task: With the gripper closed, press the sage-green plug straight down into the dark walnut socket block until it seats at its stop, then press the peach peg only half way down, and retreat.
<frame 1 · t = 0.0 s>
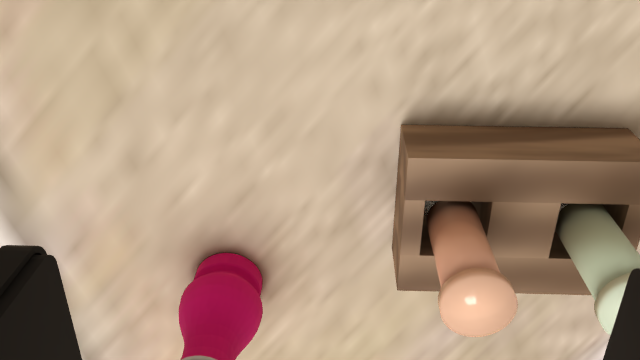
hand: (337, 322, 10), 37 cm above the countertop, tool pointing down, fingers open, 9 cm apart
green plug: (607, 261, 42), point 10 cm above the countertop, slide at 0.0 cm
pepper mill: (229, 277, 56), on the countertop
socket block: (502, 191, 50), on the countertop
peach peg: (463, 258, 42), point 10 cm above the countertop, slide at 0.0 cm
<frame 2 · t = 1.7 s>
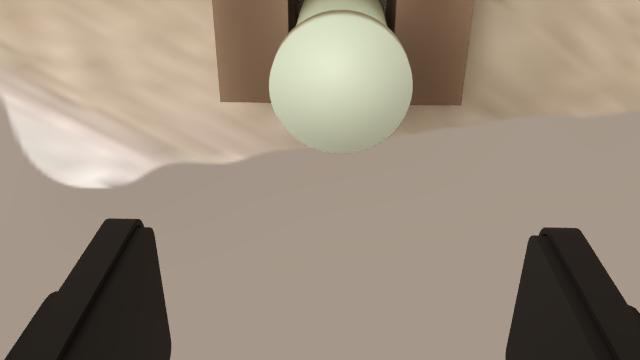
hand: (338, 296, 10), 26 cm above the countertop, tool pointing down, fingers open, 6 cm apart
green plug: (341, 45, 24), point 10 cm above the countertop, slide at 0.0 cm
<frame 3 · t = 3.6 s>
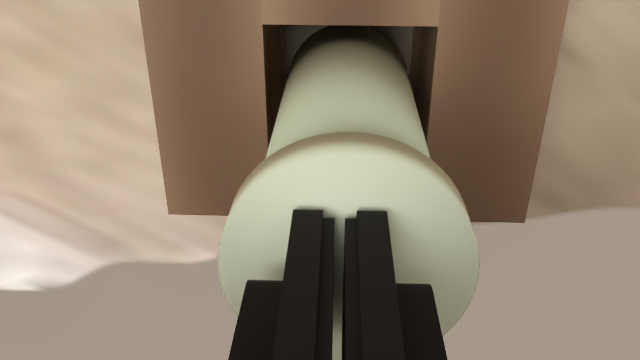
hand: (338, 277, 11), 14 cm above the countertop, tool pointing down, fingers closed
green plug: (347, 149, 16), point 9 cm above the countertop, slide at 0.8 cm, touching gripper
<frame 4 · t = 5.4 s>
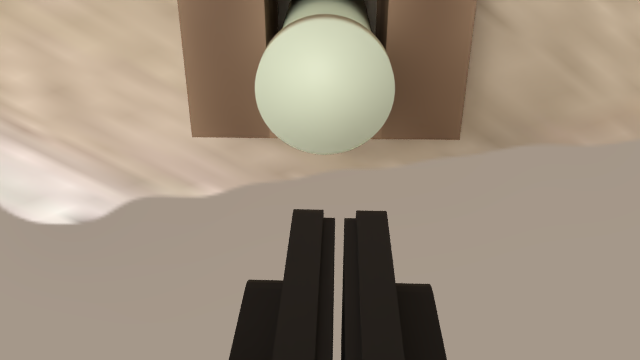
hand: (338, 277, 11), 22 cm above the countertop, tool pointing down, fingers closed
green plug: (326, 49, 25), point 6 cm above the countertop, slide at 4.0 cm
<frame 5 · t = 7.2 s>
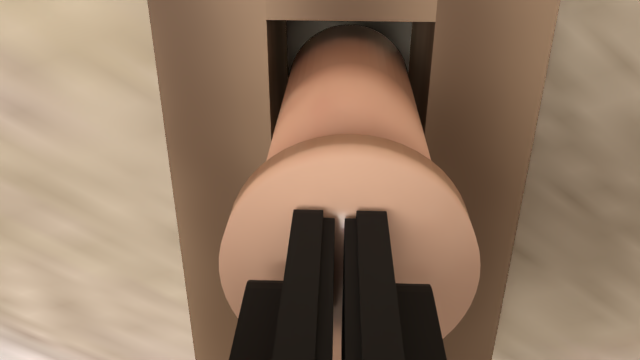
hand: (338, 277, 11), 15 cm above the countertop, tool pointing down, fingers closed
socket block: (345, 157, 26), on the countertop
peach peg: (348, 151, 16), point 10 cm above the countertop, slide at 0.1 cm, touching gripper
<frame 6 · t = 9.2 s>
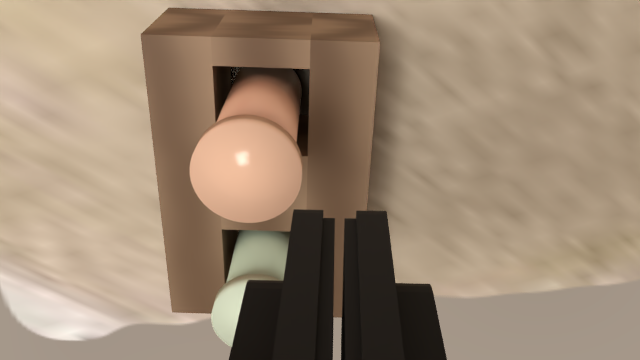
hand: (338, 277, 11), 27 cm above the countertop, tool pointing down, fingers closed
green plug: (264, 262, 37), point 6 cm above the countertop, slide at 4.0 cm
socket block: (271, 149, 39), on the countertop
peach peg: (258, 126, 30), point 8 cm above the countertop, slide at 1.9 cm
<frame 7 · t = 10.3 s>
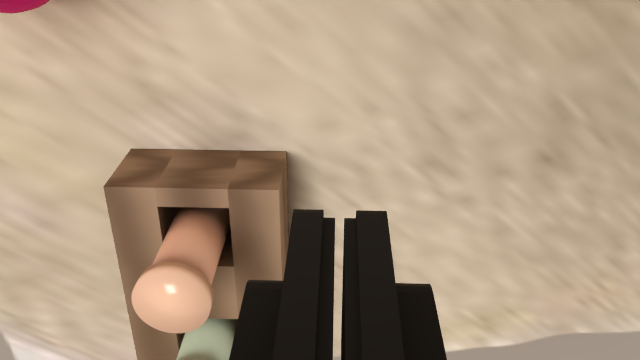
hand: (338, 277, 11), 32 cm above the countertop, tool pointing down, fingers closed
green plug: (209, 340, 47), point 6 cm above the countertop, slide at 4.0 cm
socket block: (217, 246, 50), on the countertop
peach peg: (190, 252, 41), point 8 cm above the countertop, slide at 1.9 cm
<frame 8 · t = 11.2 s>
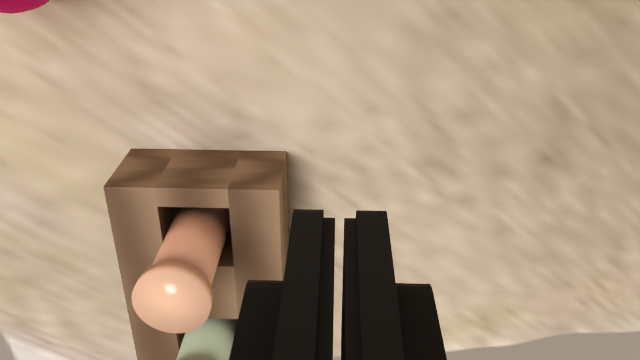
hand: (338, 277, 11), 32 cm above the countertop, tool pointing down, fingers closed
green plug: (209, 340, 47), point 6 cm above the countertop, slide at 4.0 cm
socket block: (217, 246, 50), on the countertop
peach peg: (190, 252, 41), point 8 cm above the countertop, slide at 1.9 cm
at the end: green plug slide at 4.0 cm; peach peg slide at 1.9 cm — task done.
